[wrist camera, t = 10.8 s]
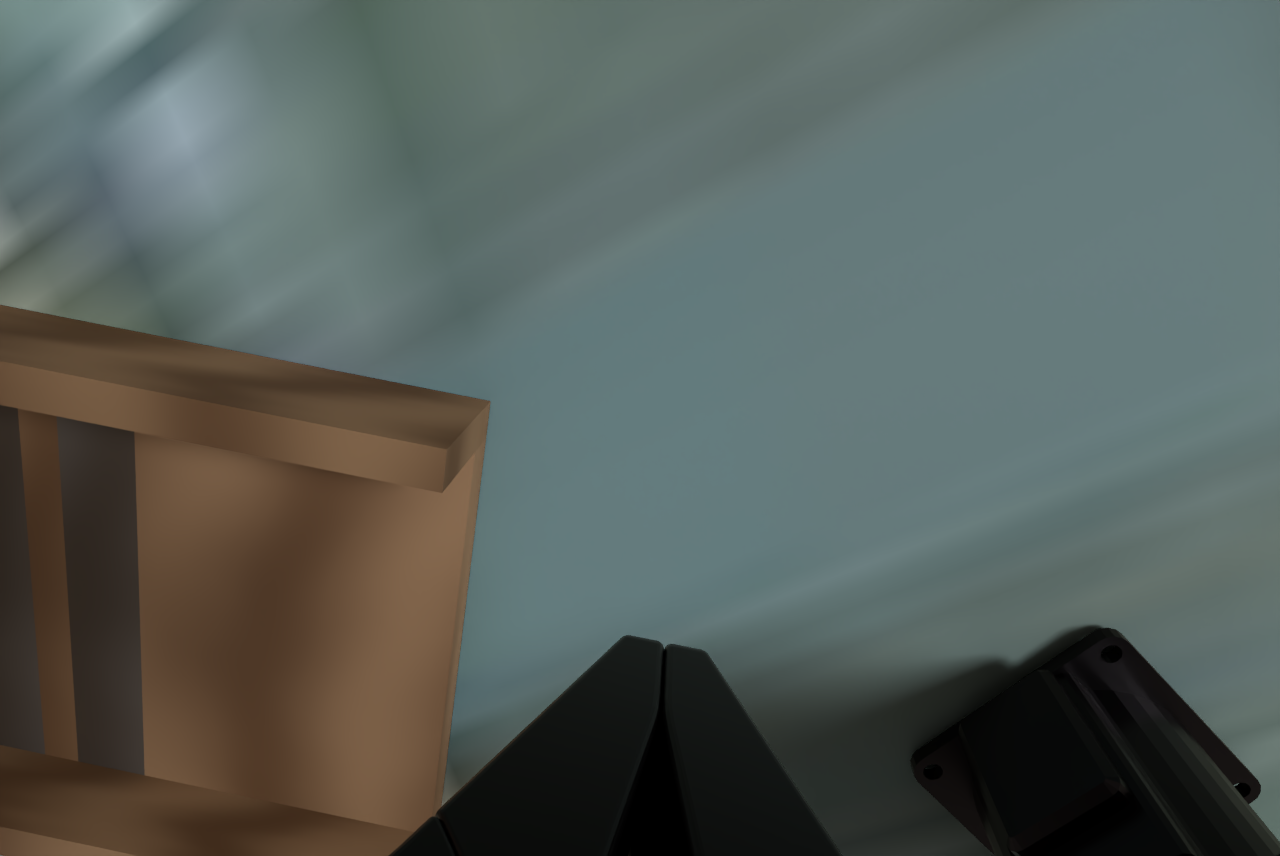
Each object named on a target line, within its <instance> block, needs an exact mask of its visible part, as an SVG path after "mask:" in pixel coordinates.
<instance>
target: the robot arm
mask: <svg viewBox="0 0 1280 856" xmlns="http://www.w3.org/2000/svg"><path fill="white" fill-rule="evenodd" d="M1110 645H1114V646H1115V647H1114V649H1113V650H1112V651H1111V652H1109V653H1106V654H1101V652H1102V650H1103V649H1104V648H1105V647H1108V646H1110ZM931 764H937V766H936V767H935V768H933V769H925V767H926V766H928V765H931ZM911 767H912V770H913V773H914V776H915V778H916V780H917V781H918V782H919V783H920V784H921V785H922V786H923V787H924V788H925V789H926V790H927V791H928V792H929V793H930V794H931V795H932V796H933V797H934V798H935V799H937V800H938V801H939V802H940V803H941V804H942V805H943V806H944V807H945V808H946V809H947V810H948V811H949V812H950V813H951V814H952V815H953V816H954V817H955V818H956V819H957V820H959V821H960V822H961V823H962V824H963V825H964V826H965V827H966V828H967V829H968V830H969V831H970V832H971V833H972V834H973V835H974V836H975V837H976V838H977V839H978V840H979V841H980V842H982V843H983V844H984V845H985V846H986V847H987V848H988V849H989V850H990V851H991V852H992V853H993V854H994V855H995V856H1280V842H1279V841H1278V839H1277V838H1276V837H1275V836H1274V835H1273V833H1272V832H1271V831H1270V830H1269V829H1268V827H1267V826H1266V825H1265V824H1264V822H1263V821H1262V820H1261V819H1260V818H1259V816H1258V815H1257V814H1256V813H1255V811H1254V810H1253V809H1252V808H1251V807H1250V805H1249V804H1250V803H1251V802H1253V801H1254V800H1255V799H1256V798H1257V797H1258V795H1259V794H1260V792H1261V785H1260V784H1259V782H1258V780H1257V779H1256V778H1255V777H1254V775H1253V774H1252V773H1251V772H1250V771H1249V770H1248V769H1247V768H1246V766H1245V765H1244V764H1243V763H1242V762H1241V761H1240V760H1239V759H1238V758H1237V757H1236V756H1235V755H1234V754H1233V753H1232V751H1231V750H1230V749H1229V748H1228V747H1227V746H1226V745H1225V744H1224V743H1223V742H1222V741H1221V740H1220V739H1219V738H1218V736H1217V735H1216V734H1215V733H1214V732H1213V731H1212V730H1211V729H1210V728H1209V727H1208V726H1207V725H1206V724H1205V723H1204V721H1203V720H1202V719H1201V718H1200V717H1199V716H1198V715H1197V714H1196V713H1195V712H1194V711H1193V710H1192V709H1191V708H1190V706H1189V705H1188V704H1187V703H1186V702H1185V701H1184V700H1183V699H1182V698H1181V697H1180V696H1179V695H1178V694H1177V693H1176V691H1175V690H1174V689H1173V688H1172V687H1171V686H1170V685H1169V684H1168V683H1167V682H1166V681H1165V680H1164V679H1163V678H1162V676H1161V675H1160V674H1159V673H1158V672H1157V671H1156V670H1155V669H1154V668H1153V667H1152V666H1151V665H1150V664H1149V663H1148V661H1147V660H1146V659H1145V658H1144V657H1143V656H1142V655H1141V654H1140V653H1139V652H1138V651H1137V650H1136V649H1135V647H1134V646H1133V645H1132V644H1131V643H1130V642H1129V641H1128V640H1127V639H1126V638H1125V637H1124V636H1123V635H1122V634H1121V633H1120V632H1118V631H1117V630H1115V629H1111V628H1103V629H1098V630H1096V631H1094V632H1092V633H1090V634H1089V635H1087V636H1086V637H1084V638H1083V639H1082V640H1080V641H1079V642H1077V643H1076V644H1074V645H1073V646H1071V647H1070V648H1068V649H1067V650H1065V651H1064V652H1062V653H1061V654H1059V655H1058V656H1056V657H1055V658H1053V659H1052V660H1050V661H1049V662H1047V663H1046V664H1044V665H1043V666H1041V667H1040V668H1038V669H1037V670H1035V671H1034V672H1033V673H1031V674H1030V675H1028V676H1027V677H1025V678H1024V679H1022V680H1021V681H1019V682H1018V683H1016V684H1015V685H1013V686H1012V687H1010V688H1009V689H1007V690H1006V691H1004V692H1003V693H1001V694H1000V695H998V696H997V697H995V698H994V699H992V700H991V701H989V702H988V703H986V704H985V705H983V706H982V707H981V708H979V709H978V710H976V711H975V712H973V713H972V714H970V715H969V716H967V717H966V718H964V719H963V720H961V721H960V722H958V723H957V724H955V725H954V726H952V727H951V728H949V729H948V730H946V731H945V732H943V733H942V734H940V735H939V736H937V737H936V738H934V739H933V740H932V741H930V742H929V743H927V744H926V745H924V746H923V747H921V748H920V749H918V750H917V751H916V752H915V753H914V754H913V755H912V758H911ZM1237 783H1239V784H1238V785H1237V786H1233V785H1234V784H1237ZM389 856H843V855H842V854H841V852H840V851H839V849H838V848H837V846H836V845H835V843H834V842H833V840H832V839H831V837H830V836H829V834H828V833H827V831H826V830H825V828H824V827H823V826H822V824H821V823H820V821H819V820H818V818H817V817H816V815H815V814H814V812H813V811H812V809H811V808H810V806H809V805H808V803H807V802H806V800H805V799H804V797H803V796H802V794H801V793H800V791H799V790H798V788H797V787H796V785H795V784H794V782H793V781H792V779H791V778H790V776H789V775H788V773H787V772H786V770H785V769H784V767H783V766H782V764H781V763H780V761H779V760H778V758H777V757H776V755H775V754H774V752H773V751H772V749H771V748H770V746H769V745H768V743H767V742H766V740H765V739H764V737H763V736H762V734H761V733H760V731H759V730H758V728H757V727H756V725H755V724H754V722H753V721H752V719H751V718H750V716H749V715H748V713H747V712H746V710H745V709H744V707H743V706H742V704H741V703H740V701H739V700H738V698H737V697H736V695H735V694H734V692H733V691H732V689H731V688H730V686H729V685H728V683H727V682H726V680H725V679H724V677H723V676H722V674H721V673H720V671H719V670H718V668H717V667H716V665H715V664H714V662H713V661H712V659H711V658H710V656H709V655H708V654H707V653H706V652H705V651H703V650H701V649H696V648H691V647H685V646H680V645H675V644H669V645H667V646H666V647H665V649H664V647H663V645H662V644H661V643H660V642H659V641H655V640H650V639H645V638H641V637H636V636H631V635H626V636H623V637H622V638H621V639H620V640H619V641H618V642H616V643H615V644H614V645H613V646H612V647H611V648H610V649H609V650H608V651H607V652H606V653H605V654H604V655H603V656H602V657H600V658H599V659H598V660H597V661H596V662H595V663H594V664H593V665H592V666H591V667H590V668H589V669H588V670H587V671H586V672H585V673H583V674H582V675H581V676H580V677H579V678H578V679H577V680H576V681H575V682H574V683H573V684H572V685H571V686H570V687H569V688H567V689H566V690H565V691H564V692H563V693H562V694H561V695H560V696H559V697H558V698H557V699H556V700H555V701H554V702H553V703H552V704H550V705H549V706H548V707H547V708H546V709H545V710H544V711H543V712H542V713H541V714H540V715H539V716H538V717H537V718H536V719H535V720H533V721H532V722H531V723H530V724H529V725H528V726H527V727H526V728H525V729H524V730H523V731H522V732H521V733H520V734H519V735H517V736H516V737H515V738H514V739H513V740H512V741H511V742H510V743H509V744H508V745H507V746H506V747H505V748H504V749H503V750H502V751H500V752H499V753H498V754H497V755H496V756H495V757H494V758H493V759H492V760H491V761H490V762H489V763H488V764H487V765H486V766H484V767H483V768H482V769H481V770H480V771H479V772H478V773H477V774H476V775H475V776H474V777H473V778H472V779H471V780H470V781H469V782H467V783H466V784H465V785H464V786H463V787H462V788H461V789H460V790H459V791H458V792H457V793H456V794H455V795H454V796H453V797H451V798H450V799H449V800H448V801H447V802H446V803H445V804H444V805H443V806H442V807H441V808H440V809H439V810H438V811H437V812H436V815H435V816H432V817H430V818H428V819H427V820H426V821H425V822H424V823H423V824H422V825H421V826H420V827H419V828H418V829H417V830H416V831H415V832H414V833H413V834H412V835H410V836H409V837H408V838H407V839H406V840H405V841H404V842H403V843H402V844H401V845H400V846H399V847H398V848H397V849H395V850H394V851H393V852H392V853H391V854H390V855H389Z"/></svg>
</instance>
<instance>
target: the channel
mask: <svg viewBox="0 0 1280 856" xmlns="http://www.w3.org/2000/svg"><path fill="white" fill-rule="evenodd" d="M489 410H490V401H487V400H482V399H476V398H471V397H466V396H461V395H456V394H451V393H446V392H441V391H436V390H431V389H426V388H420V387H415V386H410V385H405V384H400V383H395V382H390V381H385V380H380V379H375V378H370V377H364V376H359V375H354V374H349V373H344V372H339V371H334V370H329V369H324V368H319V367H314V366H308V365H303V364H298V363H293V362H288V361H283V360H278V359H273V358H268V357H263V356H258V355H253V354H247V353H242V352H237V351H232V350H227V349H222V348H217V347H212V346H207V345H202V344H197V343H191V342H186V341H181V340H176V339H171V338H166V337H161V336H156V335H151V334H146V333H141V332H135V331H130V330H125V329H120V328H115V327H110V326H105V325H100V324H95V323H90V322H85V321H80V320H74V319H69V318H64V317H59V316H54V315H49V314H44V313H39V312H34V311H29V310H24V309H18V308H13V307H8V306H3V305H0V855H3V856H389V855H390V854H391V853H392V852H393V851H394V850H395V849H397V848H398V847H399V846H400V845H401V844H402V843H403V842H404V841H405V840H406V839H407V838H408V837H409V836H410V835H412V834H413V833H414V832H415V831H416V830H417V829H418V828H419V827H420V826H421V825H422V824H423V823H424V822H425V821H426V820H427V819H428V818H430V817H432V816H435V815H436V812H437V811H438V810H439V809H440V808H441V803H442V795H443V787H444V779H445V771H446V762H447V754H448V746H449V738H450V730H451V721H452V713H453V705H454V697H455V689H456V680H457V672H458V664H459V656H460V648H461V639H462V631H463V623H464V615H465V607H466V598H467V590H468V582H469V574H470V565H471V557H472V549H473V541H474V533H475V524H476V516H477V508H478V500H479V492H480V483H481V475H482V467H483V459H484V451H485V442H486V434H487V426H488V418H489Z"/></svg>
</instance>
